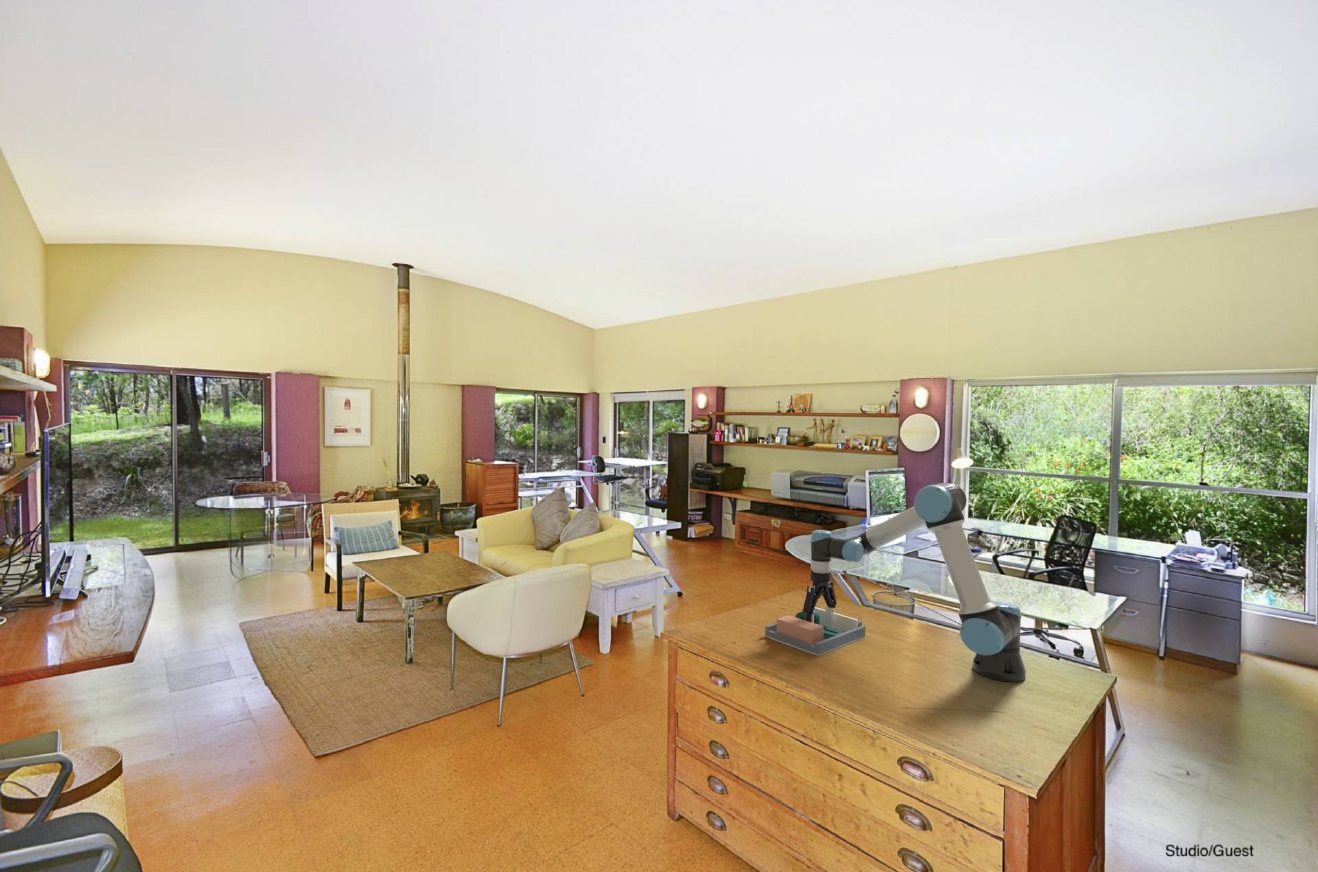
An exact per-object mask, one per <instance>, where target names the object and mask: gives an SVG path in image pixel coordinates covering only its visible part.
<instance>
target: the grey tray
mask: <svg viewBox="0 0 1318 872" xmlns="http://www.w3.org/2000/svg"><path fill="white" fill-rule="evenodd" d="M822 626H824V625H822ZM826 627H827V626H826ZM776 628H777V621H776V622H774V623H769V624H768V625H765V627H764V637H765V638H767V639H770V640H773V641H776V642H778V643H782V644H783V645H786V646H789V647H792V648H794V649H797V650H800V651H803V652H806V653H808V654H811V655H814V656H816V657H820V656H823V655H825V654H828V653H830V652H833V651H835V650H837V649H840V648H843V647H844V646H847V645H850V644H852V643H854V642H857V641H860V640H862V639H864V638H866V626H865V625H863V621H861V620H858V627H857V628H854V629H852V630H849V631H846V632H843V633H841V634H838V635H836V636H833V637H831V638H828V639H824V638H823V641H820V642H817V643H815V646H814V645H811V644H808V643H805V642H803V641H800V640H797V639H794V638H791V637H789V636H786V635H783V634H780V633H777V632H776Z"/></svg>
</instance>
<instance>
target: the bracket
mask: <svg viewBox="0 0 1318 872" xmlns="http://www.w3.org/2000/svg"><path fill="white" fill-rule="evenodd" d="M810 611H811V610H810ZM813 614H814V623H815V624H818V625H820V624H819V615H818V613H817V611H816V610H814V611H813ZM794 617H796V618H799V619H802V620H805V621H806V618H807V614H806V613H804V612H803V610H802V611H799V612H797V613H796V614H795V616H794ZM821 626H822V625H821ZM841 633H843V632H842V631H840V630H837V629H833V628H830V627H826V626H824V639H828V638H831V637H833V636H836V635H838V634H841Z"/></svg>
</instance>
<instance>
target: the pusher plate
mask: <svg viewBox="0 0 1318 872" xmlns="http://www.w3.org/2000/svg"><path fill="white" fill-rule="evenodd" d="M814 610H816V611H817V613H818V615H819V624H820V625H824V626H827V627H830V628H833V629H837V630H840V631H842V632H846V631H849V630H852V629H854V628H857V627H858V621H859V619H857V618H854V617H850V616H847V615H843V614H841V613H837V612H834V611H833V620H832V625H829V624H826V623H825V615H826V609H823V608H820V607H817V606H815V609H814Z"/></svg>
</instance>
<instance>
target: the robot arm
mask: <svg viewBox="0 0 1318 872" xmlns="http://www.w3.org/2000/svg"><path fill="white" fill-rule="evenodd" d="M967 501H968V498H967V496H966V492H965V491H964V490H963V489H962V487H961V486H959V485H957V484H955V483H952V482H943V483H942V482H941V483H933V484H929V485H927V486H925V487H922V488H921V489H919V490H918V491H917V493H916V495H915V497H914V499H913V506H912V507H909V508H907V509H905V510H904V511H901V512H900V513H898V514H896V515H894V516H893V517H891V518H888V519H887V520H885V521H883V522H881V523H879V524H877V525H876V526H873V527H872V528H870V529H867V530H866V531H864V532H862V533H860V534H858V535H855V536H852V537H848V538H838V537H837V538H836V537H833V536H832V535H833V534H832V532H831V531H830V530H826V529H816V530H813V531H812V532H811V538H810V581H811V582H812V585H811V586H809V585H807V587H806V595H805V599H804V604H803V608H802V611H803V612H804V613H806V614H807V618H806V621H808V622H811V623H814V614H813V611H814V609H815V607H817V603H818V600H819V599H820V598H821V597H823V600H824V602H825V604H826V606H825V610H826V615H825V623H826V624H829V625H832V620H833V612H834V609H835V608H837V598H836V594H835V589H834V582H833V581H831V579H832V573H831V570H832V559H835V560H836V559H837V560H841V561H846V562H849V563H850V562H853V563H858V562H860V561H861V560H862V558H863V556H867V555H869V554H871V553H873V552H874V551H876V550H878V549H879V548H882V547H883V546H886V545H887V544H889V543H891V542H893V541H896V540H897V539H899V538H902V537H903V536H906V535H908V534H909V533H912V532H914V531H915V530H917V529H920V528H922V527H923V526H926V528H927V530H929V531H930V532H932V533H934V536H935V539H936V542H937V543H938V544H937V545H938V547H939V548H940V552H941V555H942V558H943V561H944V563H945V565H946V569H947V571H948V574H949V578H950V581H951V582H952V583H951V584H953V585H952V586H953V588H954V591H955V593H956V597H957V598H958V602H959V605H960V607H959V609H958V611H957V614H958V616H959V617H958V618H959V619H960V623H961V626H960V628H959V636H960V639H961V641H962V642H963V644H964V646H965V647H966V648H968V649H969V650H970V651H972V652H973V653H975V655H974V656H973V657H974V658H973V661H972V669H973V670H974V672H976V673H977V674H979V675H981V676H983V677H986V678H988V679H992V680H995V681H1001V682H1010V683H1011V682H1012V683H1015V682H1022V681H1024V680H1025V679H1026V675H1027V674H1026V673H1027V670H1026V667H1025V665H1024V661H1023V659H1022V655H1021V627H1022V626H1021V625H1022V624H1021V623H1022V621H1021V620H1022V615H1021V612H1022V611H1021V608H1020V607H1019V606H1017V605H1015V604H1012V603H1007V602H1004V601H996V600H991V599H990V597H989V595H988V592H987V590H986V587H985V584H984V580H983V579H982V576H981V574H980V571H979V568H978V565H977V563H976V560H975V558H974V555H973V552H972V549H971V546H970V544H969V541H968V539H967V536H966V534H965V530H964V528H963V524H964V522H965V521H966V519H965V517H964V514H963V511H964V510H965V508H966V506H967ZM810 610H811V611H810Z"/></svg>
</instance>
